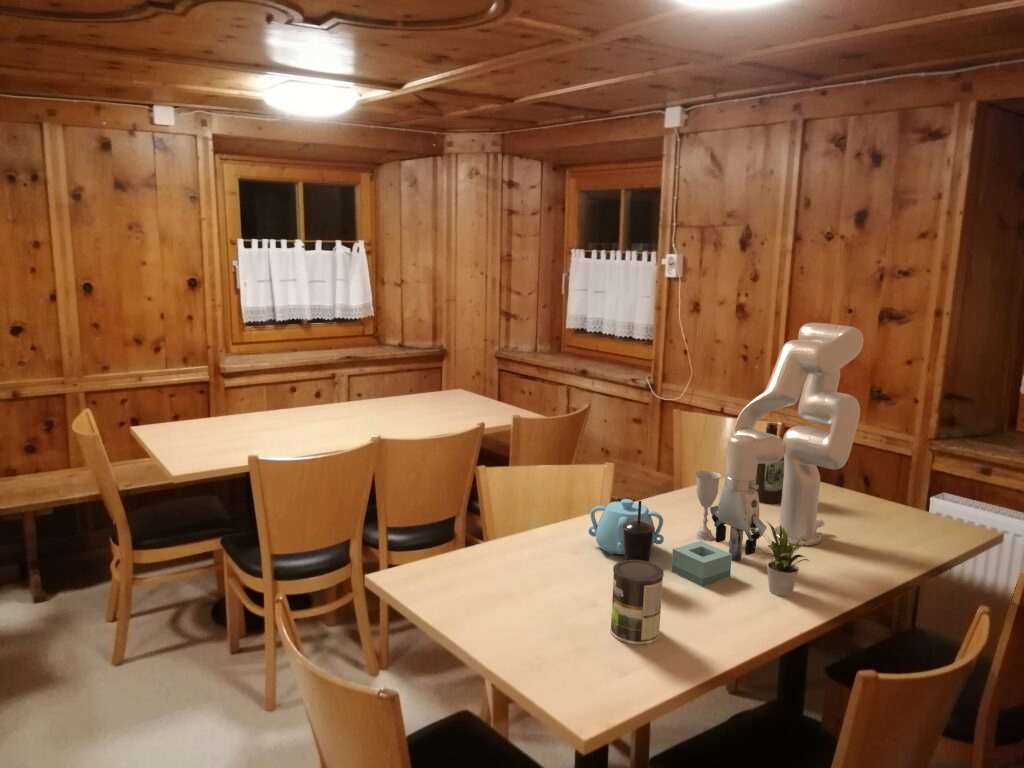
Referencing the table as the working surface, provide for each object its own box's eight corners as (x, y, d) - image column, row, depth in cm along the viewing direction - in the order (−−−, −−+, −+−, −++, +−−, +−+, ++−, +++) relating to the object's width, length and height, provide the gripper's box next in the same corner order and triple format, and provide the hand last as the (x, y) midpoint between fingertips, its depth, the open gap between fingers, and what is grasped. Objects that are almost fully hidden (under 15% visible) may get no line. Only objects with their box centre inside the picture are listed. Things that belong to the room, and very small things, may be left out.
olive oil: (742, 494, 256) (748, 420, 251) (772, 493, 258) (778, 419, 253) (759, 505, 245) (765, 428, 241) (790, 504, 248) (796, 427, 243)
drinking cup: (654, 576, 192) (658, 498, 188) (649, 589, 185) (653, 508, 181) (623, 571, 194) (627, 494, 191) (617, 584, 187) (620, 504, 184)
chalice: (717, 542, 214) (721, 479, 211) (691, 540, 216) (695, 477, 212) (716, 533, 221) (720, 471, 218) (691, 531, 223) (695, 470, 219)
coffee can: (616, 645, 159) (619, 580, 156) (605, 621, 169) (608, 559, 166) (666, 644, 160) (669, 579, 157) (652, 620, 170) (656, 559, 167)
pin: (734, 555, 206) (736, 519, 204) (743, 559, 203) (746, 523, 201) (725, 558, 204) (728, 521, 202) (735, 562, 201) (738, 525, 200)
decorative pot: (612, 565, 198) (615, 514, 196) (583, 542, 213) (585, 494, 210) (667, 556, 204) (670, 507, 202) (635, 534, 219) (637, 488, 216)
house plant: (732, 581, 190) (736, 517, 187) (777, 573, 195) (783, 511, 192) (771, 607, 177) (777, 538, 174) (819, 598, 182) (826, 531, 179)
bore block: (699, 563, 200) (700, 540, 199) (730, 577, 192) (731, 554, 191) (671, 571, 195) (672, 548, 194) (701, 586, 187) (703, 562, 186)
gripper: (778, 490, 195) (771, 556, 198) (723, 473, 209) (718, 534, 212) (758, 495, 191) (752, 562, 194) (704, 477, 205) (699, 539, 208)
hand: (734, 547), depth 203 cm, fingers open, 9 cm apart
